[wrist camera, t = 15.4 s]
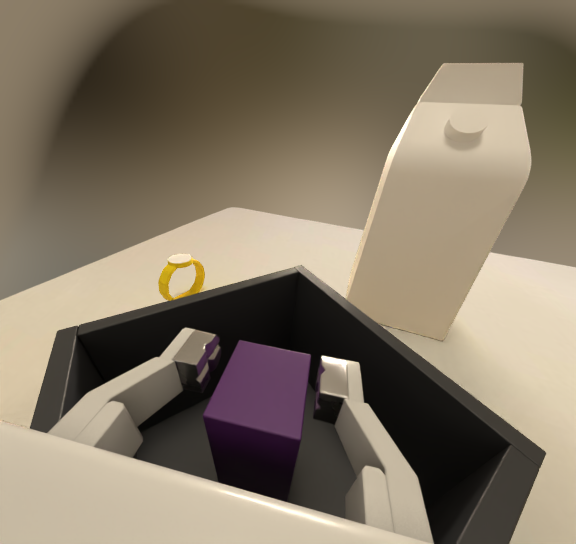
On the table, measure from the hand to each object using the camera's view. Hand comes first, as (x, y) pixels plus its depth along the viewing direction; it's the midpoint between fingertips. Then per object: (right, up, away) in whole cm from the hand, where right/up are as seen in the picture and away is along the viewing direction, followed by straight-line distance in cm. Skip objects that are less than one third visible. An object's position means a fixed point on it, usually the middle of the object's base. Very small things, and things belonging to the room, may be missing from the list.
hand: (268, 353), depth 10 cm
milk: (+16, -1, +23) cm, 28 cm away
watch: (-13, 0, +21) cm, 24 cm away
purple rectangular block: (-1, -10, +5) cm, 11 cm away
